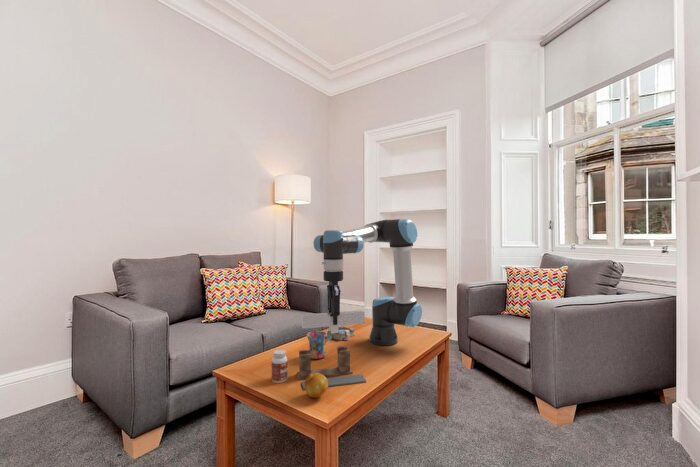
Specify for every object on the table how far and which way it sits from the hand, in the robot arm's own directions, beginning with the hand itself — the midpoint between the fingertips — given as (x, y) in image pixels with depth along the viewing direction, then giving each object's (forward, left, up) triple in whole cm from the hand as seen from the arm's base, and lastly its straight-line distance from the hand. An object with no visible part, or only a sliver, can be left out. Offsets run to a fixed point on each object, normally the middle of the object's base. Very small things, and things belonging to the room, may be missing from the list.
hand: (333, 331), depth 127 cm
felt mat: (0, 0, -20) cm, 20 cm away
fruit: (+8, +9, -20) cm, 23 cm away
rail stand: (+2, -9, -20) cm, 22 cm away
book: (-15, -53, -20) cm, 58 cm away
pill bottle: (+20, -8, -20) cm, 29 cm away
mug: (+1, -29, -20) cm, 35 cm away
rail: (0, 0, +2) cm, 2 cm away
